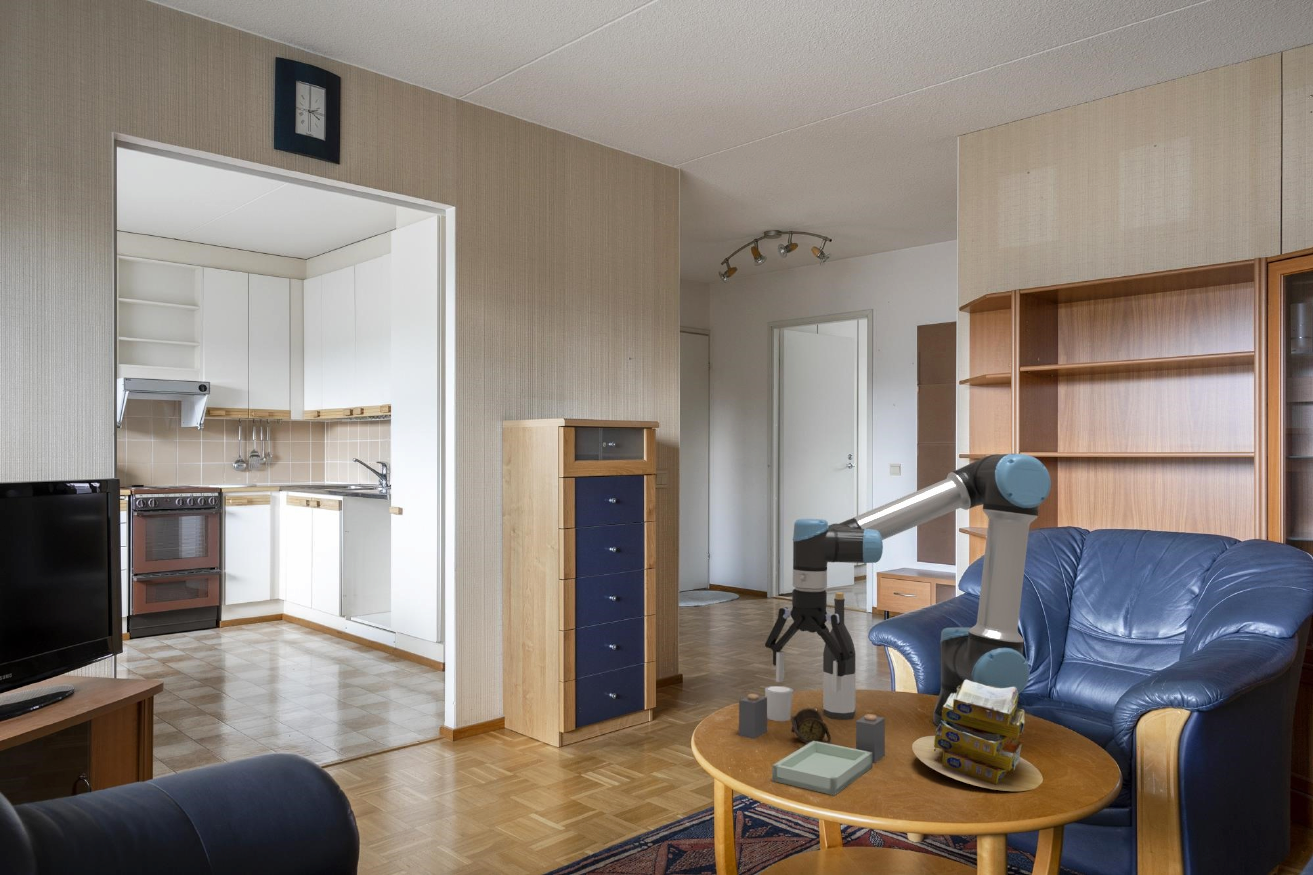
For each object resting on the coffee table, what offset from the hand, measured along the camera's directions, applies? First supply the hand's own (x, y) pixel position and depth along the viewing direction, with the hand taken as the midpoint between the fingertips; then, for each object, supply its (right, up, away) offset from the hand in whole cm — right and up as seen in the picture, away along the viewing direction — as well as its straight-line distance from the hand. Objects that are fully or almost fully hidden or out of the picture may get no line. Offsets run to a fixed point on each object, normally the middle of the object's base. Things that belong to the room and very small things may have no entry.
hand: (807, 685), depth 193 cm
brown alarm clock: (0, -13, 0) cm, 13 cm away
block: (+12, -13, -8) cm, 19 cm away
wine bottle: (+12, -14, +23) cm, 30 cm away
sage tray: (0, -12, -18) cm, 22 cm away
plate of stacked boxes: (+31, -13, -16) cm, 37 cm away
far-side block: (-11, -13, +8) cm, 19 cm away
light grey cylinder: (-4, -14, +21) cm, 25 cm away
